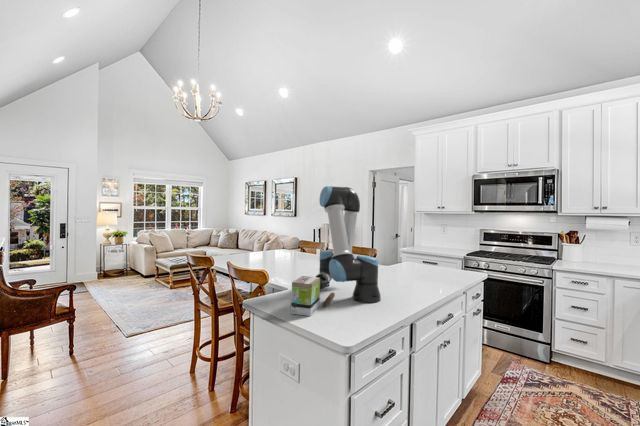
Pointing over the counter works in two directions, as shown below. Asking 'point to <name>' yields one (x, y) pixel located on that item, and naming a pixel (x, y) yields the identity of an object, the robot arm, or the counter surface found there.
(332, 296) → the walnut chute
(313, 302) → the tea box
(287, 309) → the counter surface
